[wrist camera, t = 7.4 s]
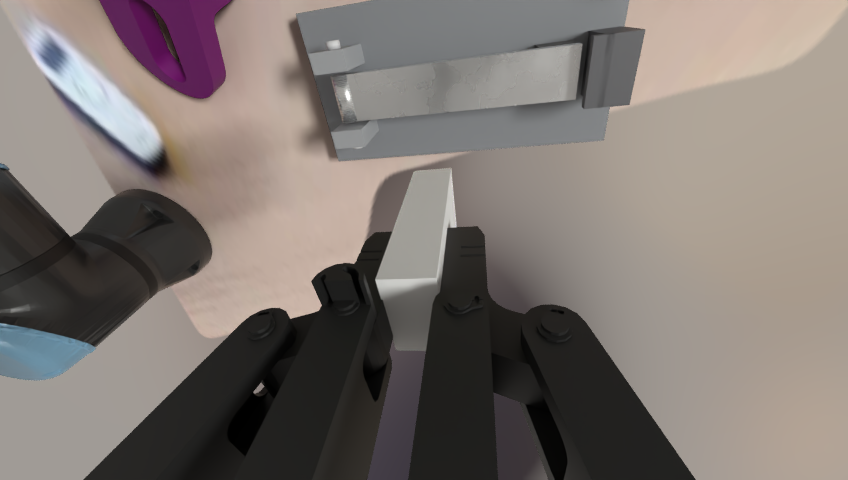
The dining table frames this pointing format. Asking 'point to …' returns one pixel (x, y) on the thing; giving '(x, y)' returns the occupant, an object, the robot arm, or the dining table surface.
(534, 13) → the latch base
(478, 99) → the grey long flat bar
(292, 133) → the dining table surface
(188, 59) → the mounting bracket
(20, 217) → the robot arm
